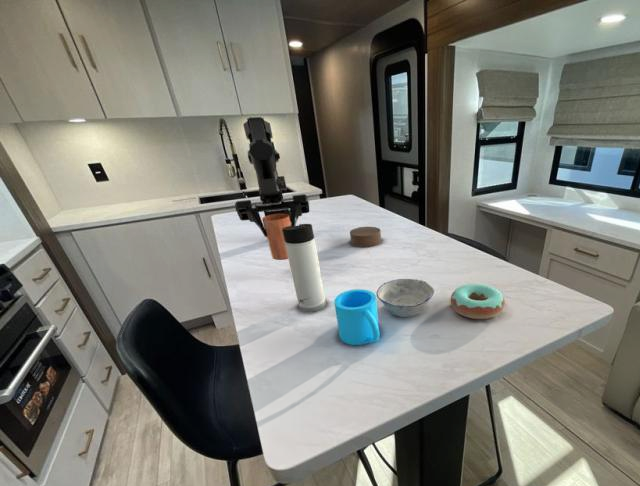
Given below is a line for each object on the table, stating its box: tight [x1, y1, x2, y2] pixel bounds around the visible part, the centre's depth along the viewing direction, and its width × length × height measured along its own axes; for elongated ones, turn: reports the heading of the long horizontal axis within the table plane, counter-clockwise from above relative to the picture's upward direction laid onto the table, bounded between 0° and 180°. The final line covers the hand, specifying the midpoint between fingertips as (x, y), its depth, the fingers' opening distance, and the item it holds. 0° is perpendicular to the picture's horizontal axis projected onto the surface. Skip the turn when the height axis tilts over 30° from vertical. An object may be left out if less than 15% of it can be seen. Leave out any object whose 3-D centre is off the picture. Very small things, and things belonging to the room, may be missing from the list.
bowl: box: [376, 278, 435, 318], centre depth 73 cm, size 13×13×5 cm
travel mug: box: [282, 223, 326, 313], centre depth 72 cm, size 6×7×20 cm
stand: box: [349, 226, 382, 248], centre depth 115 cm, size 11×11×4 cm
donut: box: [450, 283, 506, 320], centre depth 72 cm, size 12×12×4 cm
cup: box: [261, 214, 291, 261], centre depth 88 cm, size 7×7×11 cm
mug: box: [333, 288, 381, 346], centre depth 63 cm, size 12×8×8 cm
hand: (279, 234), depth 86 cm, fingers closed on cup, 7 cm apart
